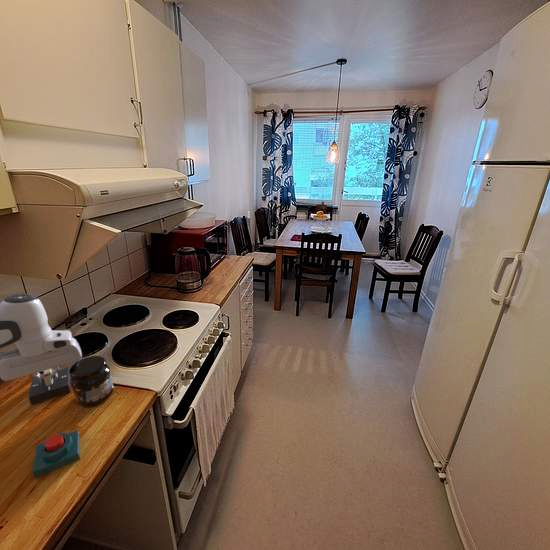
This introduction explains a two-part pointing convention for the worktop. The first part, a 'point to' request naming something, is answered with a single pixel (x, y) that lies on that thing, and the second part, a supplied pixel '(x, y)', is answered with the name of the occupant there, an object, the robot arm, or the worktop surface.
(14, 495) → the worktop surface
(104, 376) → the supplement container
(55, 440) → the timer button
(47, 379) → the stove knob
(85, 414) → the worktop surface
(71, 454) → the teal square base
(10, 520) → the worktop surface
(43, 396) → the stove panel
